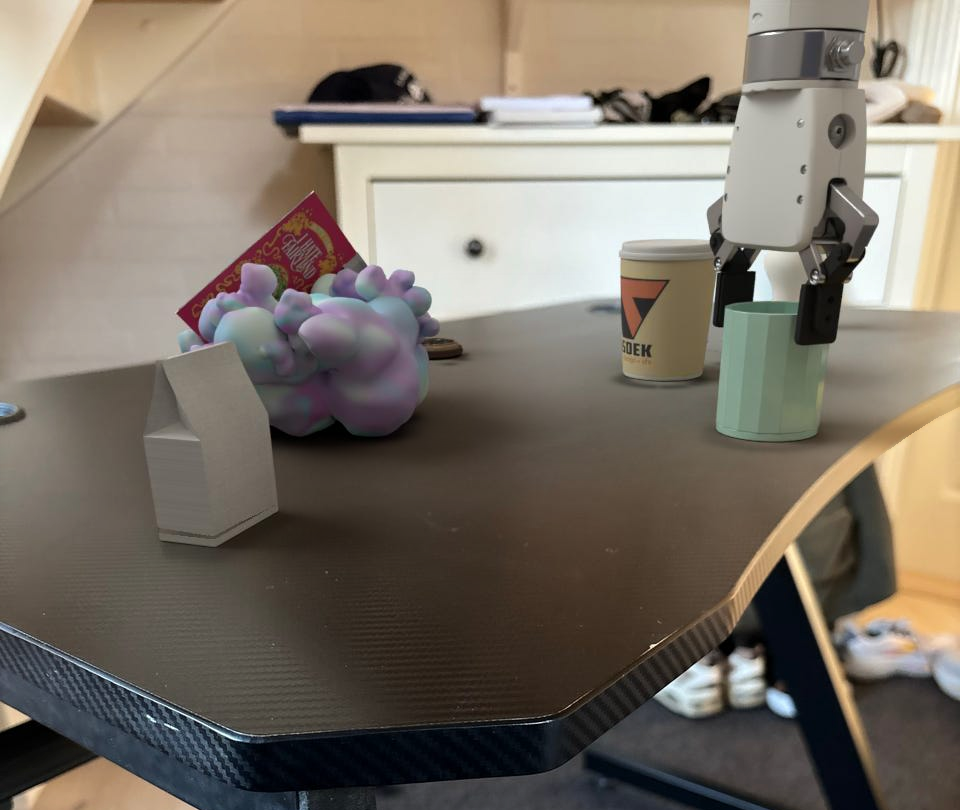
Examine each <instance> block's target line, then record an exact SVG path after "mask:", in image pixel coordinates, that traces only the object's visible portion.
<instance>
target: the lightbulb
mask: <svg viewBox="0 0 960 810" xmlns="http://www.w3.org/2000/svg"><path fill="white" fill-rule="evenodd" d="M763 265H764V266H763V268H764V271H765V273H766V277H767V279H768V281H769V283H770V287H771V288H770V289H771V294H772V301H795V302H799V296H800V289H801V284H807V282H808V281H809V279H808V277H807V274H806V271H805V269H804V266H803V263H802V261H801V258H800V255H799V252H780V251H770V250H765V253H764V256H763Z"/></svg>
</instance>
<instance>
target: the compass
mask: <svg viewBox="0 0 960 810" xmlns="http://www.w3.org/2000/svg"><path fill="white" fill-rule="evenodd" d="M420 344H421V345H422V346H423V347H424V348H425V350H426V351H427V354H428V357H429V359H445V358H453V357H457V356H459V355H461V354H462V353H463V352H464V348H463V345H462V344H460V343H459V342H458V341H457V340H456V339H453V338H447V337H426V338H425V340H424V341H423V342H422V343H420Z"/></svg>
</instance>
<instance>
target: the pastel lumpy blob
mask: <svg viewBox="0 0 960 810" xmlns="http://www.w3.org/2000/svg"><path fill="white" fill-rule="evenodd" d="M415 282H416V276H415V273H414V271H411V270H407V269H406V270H405V269H401V268H400V269H395V270H394V271H392V273H391V275H390V276H389V277H388V278H387V275H386V274H385V271H384V269H383V268H382V267H381V266H379V265H376V264H369V265H368V264H367V263H366V261H365V259H363V257H362V256H361V254H360V253H359V252H358V251H357V250H356V249H355V247H353V245H352V244H351V242H350V241H349V239H348V238H347V235H345V233H344V232H343V230H342V229H341V227H340V226H339V225H338V223H337V222H336V220H335V219H334V218H333V216H332V215H331V213H330V212H329V210H328V209H327V208H326V206H325V205H324V203H323V202H322V200H321V199H320V197H319V196H318V194H317V193H316V192H315V191H314V190H312V191H311V192H310V193H309V194H308V195H306V196H305V197H304V198H303V199H302V200H301V201H300V202H299V203H297V204H296V205H295V206H294V207H293V208H292V209H291V210H290V211H288V212H287V213H286V214H285V215H284V216H283V217H281V218H280V219H279V220H278V221H277V222H276V223H274V225H272V226H271V227H270V228H269V229H268V230H267V231H266V232H264V233H263V234H262V235H261V236H260V237H258V238H257V239H256V241H254V242H253V243H252V244H251V245H250V246H249V247H247V248H246V249H245V250H244V251H243V252H242V253H240V254H239V255H238V256H237V257H236V258H235V259H234V260H233V261H232V262H231V263H230V264H228V265H226V267H225V268H224V269H222V270H221V271H220V272H219V273H217V275H215V277H213V278H212V279H211V280H210V281H209V282H208V283H207V284H205V285H204V286H203V287H202V288H201V289H199V291H198V292H196V293H195V294H194V295H193V296H192V297H191V298H189V299H188V300H187V301H186V302H185V303H183V304H182V306H180V307H179V308H178V309H177V310H176V311H175V314H176V315H177V316H178V317H179V318H180V319H181V321H183V322H184V323H185V324H186V325H187V326H188V328H187V329H185V330H183V331H182V332H181V333H179V334H178V336H177V343H178V346H179V347H180V353H181V354H182V353H185V352H189V351H193V350H196V349H200V348H203V347H207V346H211V345H214V344H218V343H222V342H225V341H229V342H230V341H234V342H235V345H236V349H237V352H238V355H239V357H240V359H241V361H242V364H243V366H244V368H245V370H246V373H247V375H248V376H249V378H250V380H251V382H252V384H253V386H254V388H255V390H256V392H257V394H258V396H259V397H260V399H261V401H262V403H263V405H264V407H265V409H266V411H267V413H268V418H269V426H271V427H274V428H275V429H278V430H280V431H281V432H284V433H286V434H288V435H290V436H292V437H299V438H302V437H307V436H310V435H313V434H314V433H317V432H320V431H323V430H325V429H327V428H329V427H330V426H332V425H335V423H336V420H337V421H338V422H339V423H341V424H342V425H343V427H344V428H345V429H346V430H347V431H348V433H349V434H351V435H353V436H358V437H368V438H375V437H384V436H385V437H387V436H388V435H390V434H392V433H394V432H396V431H397V430H398V429H399V428H400V427H401V426H402V425H403V424H405V423H407V422H408V421H409V420H410V419H411V418H412V416H413V414H414V411H415V409H416V408H417V407H418V406H419V405H420V404H422V403H423V401H424V400H425V398H426V397H427V396H428V391H429V382H430V369H429V363H430V358H429V357H428V354H427V351H426V350H425V348H424V347H423V346H422V345H421V344H420V343H422V342H423V341H424V340H425V339H427V338H434V337H435V336H438V334H439V333H440V331H441V323H440V322H439V320H438V318H437V319H436V318H435V317H432V316H431V314H430V313H429V310H430V308H431V306H432V303H433V300H432V299H433V298H432V294H431V293H430V291H429V290H428V289H426V287H421V286H419V285H414V284H415Z"/></svg>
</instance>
